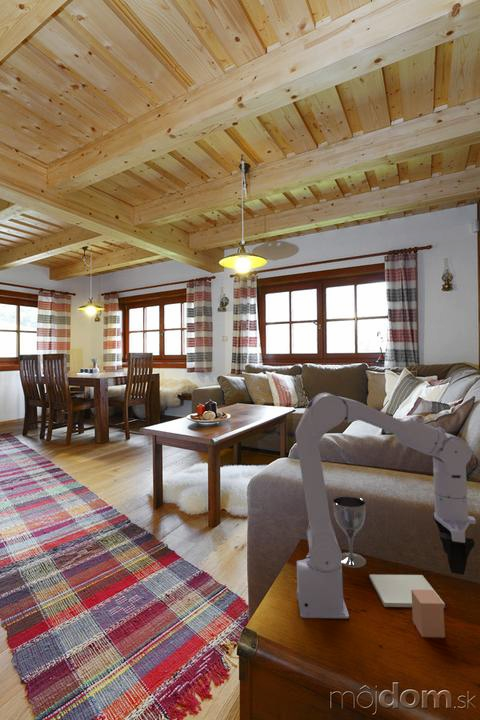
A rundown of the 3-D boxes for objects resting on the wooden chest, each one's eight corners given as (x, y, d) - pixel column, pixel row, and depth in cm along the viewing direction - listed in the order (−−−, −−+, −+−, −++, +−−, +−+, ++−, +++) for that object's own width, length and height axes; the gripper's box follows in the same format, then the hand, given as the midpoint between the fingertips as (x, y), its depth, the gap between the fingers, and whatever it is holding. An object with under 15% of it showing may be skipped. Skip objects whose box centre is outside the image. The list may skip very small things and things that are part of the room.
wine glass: (373, 559, 89) (370, 500, 90) (359, 572, 83) (356, 509, 84) (344, 549, 95) (342, 493, 95) (329, 561, 89) (327, 501, 89)
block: (422, 637, 63) (420, 603, 63) (412, 621, 67) (411, 589, 67) (445, 637, 63) (443, 603, 63) (434, 621, 67) (432, 589, 67)
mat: (384, 606, 71) (384, 602, 71) (369, 578, 81) (369, 574, 81) (444, 607, 70) (444, 603, 70) (422, 578, 80) (422, 575, 80)
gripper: (483, 509, 61) (487, 587, 61) (465, 484, 75) (469, 548, 74) (438, 504, 64) (441, 579, 64) (429, 481, 78) (431, 543, 77)
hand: (453, 562), depth 69 cm, fingers open, 7 cm apart
